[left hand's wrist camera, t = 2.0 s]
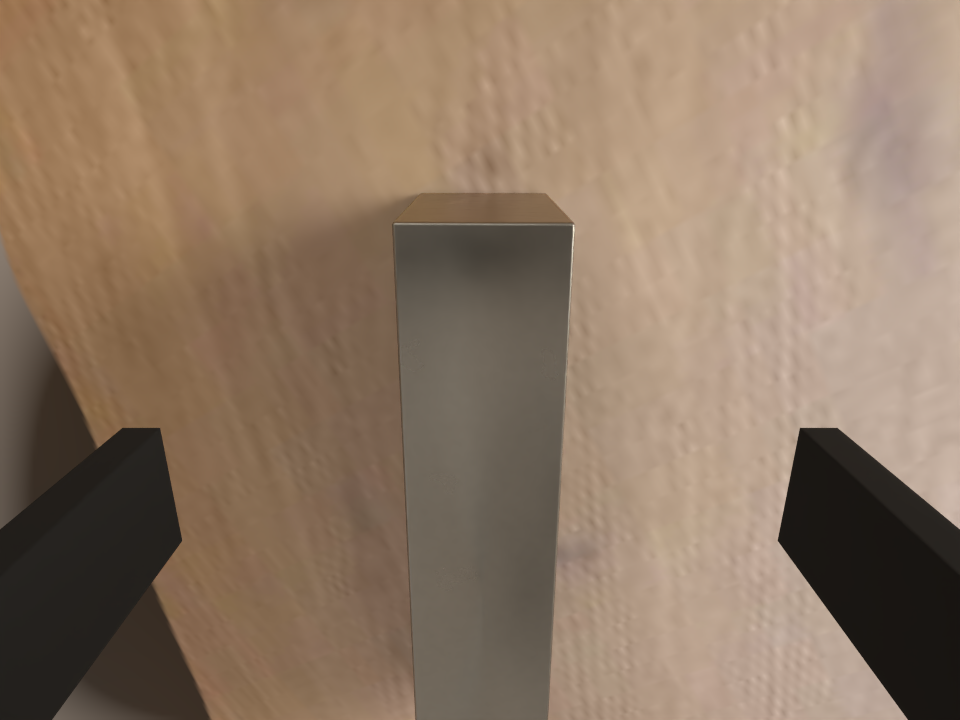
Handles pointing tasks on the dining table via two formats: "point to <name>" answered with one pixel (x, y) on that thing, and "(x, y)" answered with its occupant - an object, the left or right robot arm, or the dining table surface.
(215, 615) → the dining table surface
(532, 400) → the bar
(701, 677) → the dining table surface
